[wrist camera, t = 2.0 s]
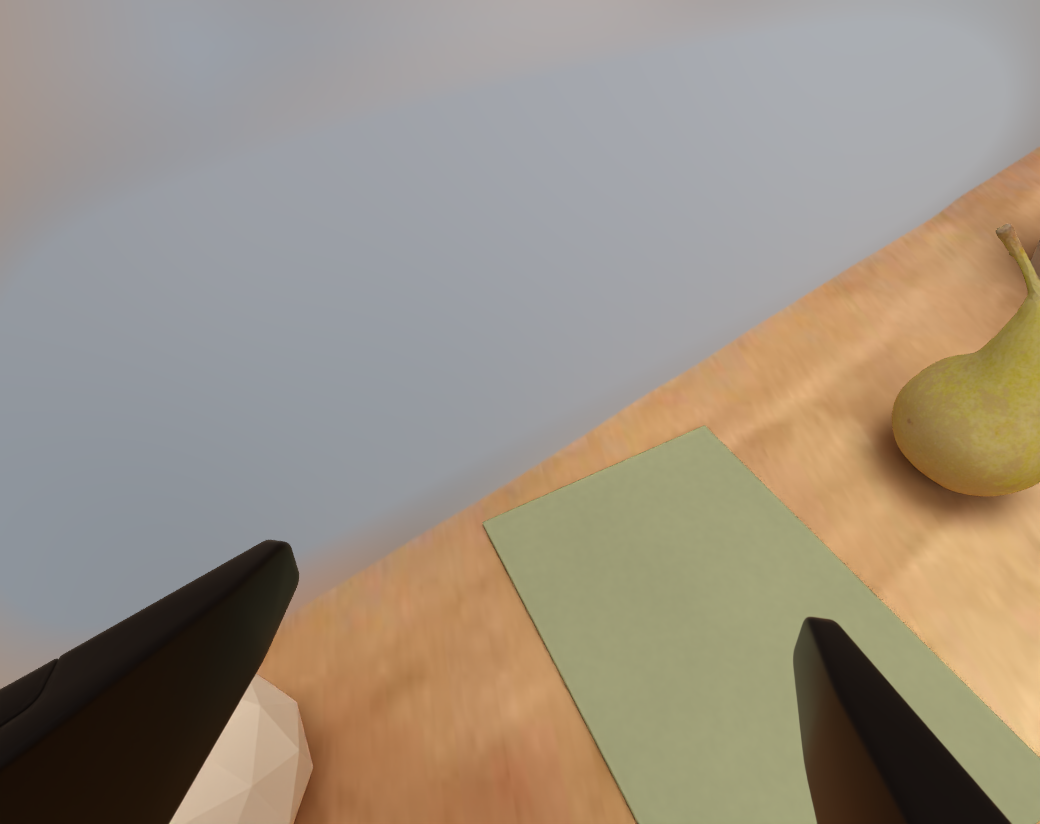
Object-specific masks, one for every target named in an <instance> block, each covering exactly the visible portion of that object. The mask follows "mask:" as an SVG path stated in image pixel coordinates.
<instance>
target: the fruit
mask: <svg viewBox="0 0 1040 824" xmlns="http://www.w3.org/2000/svg"><path fill="white" fill-rule="evenodd" d="M996 234H997V236H998V237H999V238H1000V240H1001V241H1002V242H1003V244H1004V245H1005V247H1006V248H1007V249H1008V251H1009V255H1011V256H1012V257H1014V259H1015V260H1016V261H1017V263H1018V264H1019V266H1020V268H1021V270H1022V273H1023V275H1024V278H1025V282H1026V285H1027V290H1028V296H1027V297H1026V299H1025V301H1024V303H1023V304H1022V305H1021V307H1020V308H1019V310H1018V311H1017V313H1016V314H1015V315H1014V316H1013V317H1012V318H1011V320H1010V321H1009V322H1008V323H1007V324H1006V325H1005V326H1004V327H1003V328H1002V330H1001V331H1000V332H999V333H998V334H997V335H996V336H995V337H994V338H992V339H991V340H990V341H989V342H988V343H987V344H986V345H985V346H984V347H983V348H981V349H980V350H979V351H977V352H975V353H971V354H964V355H957V356H952V357H948V358H945V359H943V360H940V361H938V362H936V363H934V364H932V365H930V366H929V367H927V368H925V369H924V370H923V371H921V372H920V373H919V374H917V375H916V376H915V377H914V378H912V379H911V380H910V381H909V382H908V383H907V384H906V385H905V386H904V387H903V388H902V389H901V391H900V392H899V394H898V396H897V398H896V400H895V402H894V406H893V411H892V428H893V433H894V437H895V440H896V443H897V445H898V447H899V449H900V450H901V452H902V453H903V454H904V456H905V457H906V458H907V459H908V460H909V461H910V463H911V464H912V465H913V466H915V467H916V468H917V469H918V470H919V471H920V472H922V473H923V474H924V475H925V476H927V477H928V478H930V479H931V480H933V481H934V482H936V483H937V484H939V485H941V486H942V487H944V488H946V489H948V490H951V491H954V492H958V493H961V494H967V495H973V496H999V495H1006V494H1011V493H1014V492H1018V491H1021V490H1024V489H1027V488H1029V487H1032V486H1034V485H1035V484H1037V483H1039V482H1040V280H1039V278H1038V276H1037V274H1036V272H1035V270H1034V268H1033V266H1032V264H1031V262H1030V260H1029V258H1028V256H1027V254H1026V253H1025V251H1024V249H1023V246H1022V244H1021V243H1020V241H1019V238H1018V237H1017V235H1016V233H1015V230H1014V228H1013V227H1012V225H1011V224H1005V225H1004V226H1002V227H1000V228H997V230H996Z"/></svg>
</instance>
